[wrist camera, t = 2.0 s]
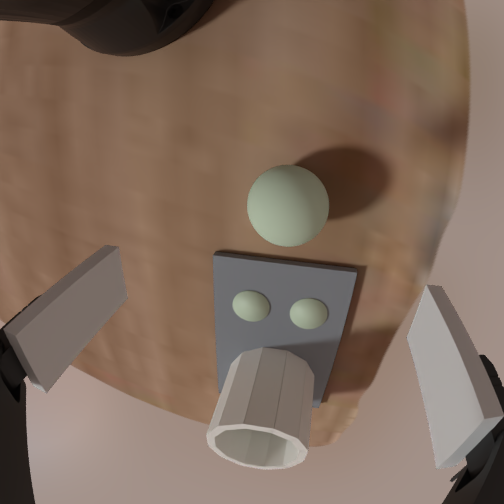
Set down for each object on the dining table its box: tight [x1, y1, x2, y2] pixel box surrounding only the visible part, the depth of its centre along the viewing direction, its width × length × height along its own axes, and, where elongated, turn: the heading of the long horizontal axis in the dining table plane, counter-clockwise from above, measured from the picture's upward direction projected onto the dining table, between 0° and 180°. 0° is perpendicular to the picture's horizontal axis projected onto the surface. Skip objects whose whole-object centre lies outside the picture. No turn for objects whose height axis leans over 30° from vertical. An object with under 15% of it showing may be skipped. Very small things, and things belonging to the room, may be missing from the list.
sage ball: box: [247, 165, 329, 247], centre depth 22 cm, size 6×6×6 cm
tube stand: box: [206, 252, 357, 470], centre depth 27 cm, size 20×13×11 cm, turn 178°
